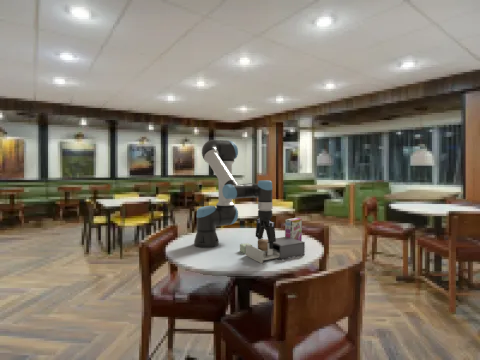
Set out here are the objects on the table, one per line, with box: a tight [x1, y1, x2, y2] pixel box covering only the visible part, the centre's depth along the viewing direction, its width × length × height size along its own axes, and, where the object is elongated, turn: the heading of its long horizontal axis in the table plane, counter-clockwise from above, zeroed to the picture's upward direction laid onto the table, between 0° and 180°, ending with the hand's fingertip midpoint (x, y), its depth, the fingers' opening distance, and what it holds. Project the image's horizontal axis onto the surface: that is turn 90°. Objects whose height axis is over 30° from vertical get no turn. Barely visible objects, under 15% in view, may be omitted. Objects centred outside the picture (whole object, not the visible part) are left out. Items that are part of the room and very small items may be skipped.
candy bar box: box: [284, 217, 303, 241], centre depth 176 cm, size 11×5×16 cm, turn 135°
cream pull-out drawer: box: [245, 243, 280, 264], centre depth 154 cm, size 16×15×6 cm
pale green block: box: [239, 242, 253, 254], centre depth 164 cm, size 5×5×4 cm
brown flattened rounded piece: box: [257, 238, 268, 251], centre depth 153 cm, size 8×8×4 cm
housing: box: [273, 236, 306, 261], centre depth 160 cm, size 16×15×7 cm
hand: (265, 252), depth 154 cm, fingers closed on brown flattened rounded piece, 8 cm apart
